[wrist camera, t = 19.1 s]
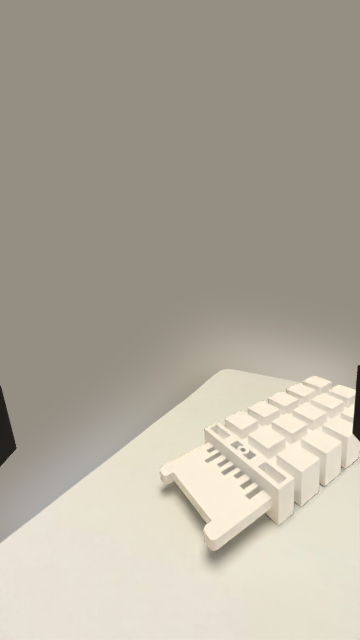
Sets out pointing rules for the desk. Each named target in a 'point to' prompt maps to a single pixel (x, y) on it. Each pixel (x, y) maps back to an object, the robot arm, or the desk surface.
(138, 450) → the desk surface
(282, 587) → the desk surface
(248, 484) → the organizer
